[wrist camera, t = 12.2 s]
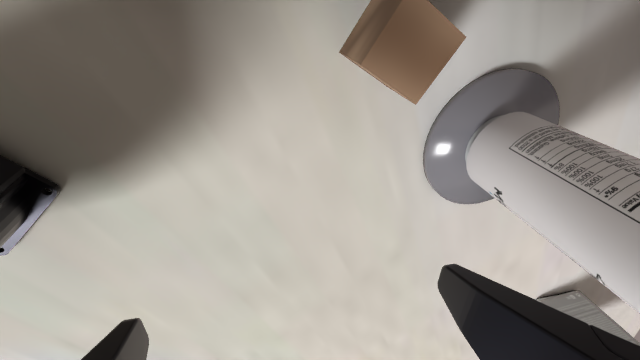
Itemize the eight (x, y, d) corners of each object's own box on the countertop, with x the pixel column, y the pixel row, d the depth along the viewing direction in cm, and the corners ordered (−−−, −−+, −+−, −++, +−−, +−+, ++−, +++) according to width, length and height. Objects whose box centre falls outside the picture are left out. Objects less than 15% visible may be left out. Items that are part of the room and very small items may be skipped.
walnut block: (386, 86, 20) (415, 104, 17) (338, 52, 19) (360, 64, 15) (426, 29, 19) (466, 36, 16) (379, -14, 17) (412, -15, 14)
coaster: (461, 220, 28) (465, 224, 28) (396, 146, 23) (400, 150, 22) (568, 137, 26) (574, 140, 26) (525, 32, 21) (533, 33, 20)
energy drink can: (446, 177, 25) (664, 370, 12) (478, 102, 22) (808, 251, 9) (507, 181, 26) (754, 353, 14) (544, 112, 23) (898, 248, 11)
